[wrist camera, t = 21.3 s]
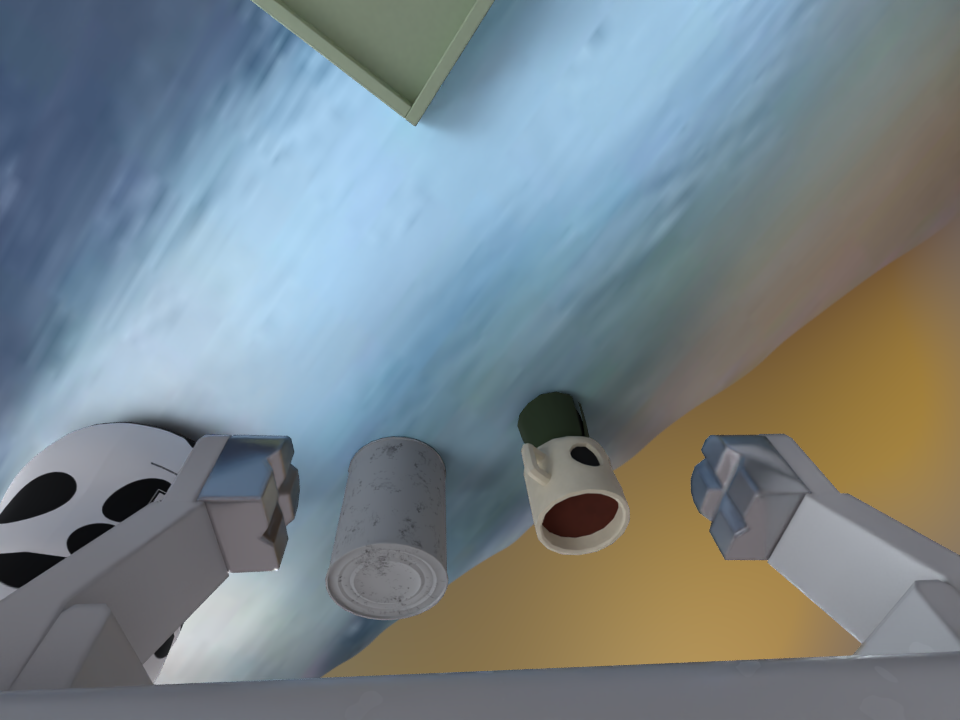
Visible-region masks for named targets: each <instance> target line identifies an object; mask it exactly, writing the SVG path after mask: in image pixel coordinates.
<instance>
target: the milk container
mask: <svg viewBox="0 0 960 720" xmlns="http://www.w3.org/2000/svg"><path fill="white" fill-rule="evenodd" d="M195 444H196V442H194V441H192V440H190V439H188V438H186V437H183V436H181V435H179V434H177V433H175V432H172V431H169V430H167V429H163V428H160V427H155V426H150V425H145V424H140V423H132V422H116V423H103V424H96V425H92V426H89V427H85V428H82V429H79V430H76V431H73V432H71V433H69V434H67V435H65V436H64V437H62V438H60V439H59V440H57V441H55V442H54V443H52V444H51V445H49V446H48V447H46V448H45V449H44V450H42V451H41V452H40V453H39V454H37V455H36V456H35V457H34V458H33V459H32V460H31V461H30V462H29V463H27V464H26V465H25V466H24V467H23V468H22V470H21V471H20V472H19V473H18V475H17V476H16V477H15V479H14V480H13V481H12V483H11V485H10V486H9V488H8V490H7V492H6V493H5V495H4V497H3V499H2V501H1V503H0V600H2V599H4V598H5V597H7V596H8V595H10V594H11V593H13V592H14V591H16V590H17V589H19V588H20V587H22V586H24V585H25V584H27V583H28V582H30V581H31V580H33V579H34V578H36V577H37V576H39V575H41V574H42V573H44V572H45V571H47V570H48V569H50V568H51V567H53V566H54V565H56V564H57V563H59V562H61V561H62V560H64V559H65V558H67V557H68V556H70V555H71V554H73V553H74V552H76V551H77V550H79V549H81V548H82V547H84V546H85V545H87V544H88V543H90V542H91V541H93V540H94V539H96V538H97V537H99V536H101V535H102V534H104V533H105V532H107V531H108V530H110V529H111V528H113V527H114V526H116V525H118V524H119V523H121V522H122V521H124V520H125V519H127V518H128V517H130V516H131V515H133V514H134V513H136V512H138V511H139V510H141V509H142V508H144V507H145V506H147V505H148V504H150V503H151V502H161V501H162V499H163V497H164V496H165V494H166V492H167V491H168V489H169V487H170V486H171V484H172V482H173V481H174V479H175V477H176V476H177V474H178V472H179V471H180V469H181V467H182V466H183V464H184V462H185V461H186V459H187V457H188V456H189V454H190V452H191V451H192V449H193V447H194V446H195ZM183 624H184V623H183ZM183 624H182V625H181V626H180V627H179V628H178V629H177V630H176V631H175V632H174V633H173V634H172V635H171V636H170V637H169V638H168V639H167V640H166V641H165V642H164V643H163V644H162V645H161V647H160V648H159V649H158V650H157V651H156V652H155V653H154V654H153V655H152V656H151V657H150V658H149V659H148V660H147V661H146V662H145V663H144V664H143V667H144V669H145V670H146V672H147V674H148V675H149V677H150V679H151V681H152V682H153V684H154V682H155V681H156V679H157V677H158V675H159V673H160V671H161V669H162V667H163V665H164V662H165V660H166V657H167V655H168V652H169V650H170V649H171V647H172V646H173V644H174V643H175V641H176V640H177V638H178V635H179V633H180V631H181V628H182V626H183Z"/></svg>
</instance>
